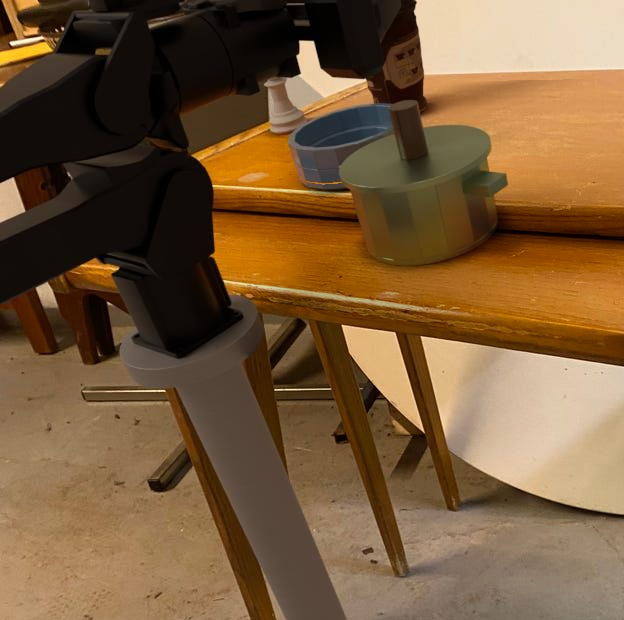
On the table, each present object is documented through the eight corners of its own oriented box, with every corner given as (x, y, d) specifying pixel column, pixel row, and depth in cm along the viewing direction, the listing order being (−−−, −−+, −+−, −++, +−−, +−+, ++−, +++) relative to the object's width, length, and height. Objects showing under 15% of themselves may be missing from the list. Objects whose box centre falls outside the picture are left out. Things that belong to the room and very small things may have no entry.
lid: (424, 209, 69) (409, 142, 66) (312, 192, 76) (292, 130, 73) (523, 144, 76) (513, 79, 73) (411, 133, 83) (397, 74, 80)
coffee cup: (451, 97, 109) (427, -23, 101) (419, 124, 103) (392, -1, 95) (389, 100, 112) (361, -15, 104) (355, 126, 107) (323, 6, 99)
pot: (465, 280, 72) (449, 202, 68) (320, 250, 81) (298, 180, 77) (549, 216, 78) (538, 141, 74) (405, 195, 88) (388, 128, 84)
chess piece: (309, 127, 110) (288, 58, 105) (271, 137, 110) (248, 68, 105) (307, 116, 114) (287, 49, 109) (270, 126, 113) (248, 59, 108)
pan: (360, 199, 89) (347, 154, 86) (278, 186, 96) (264, 144, 93) (440, 149, 96) (431, 106, 93) (358, 141, 103) (347, 100, 100)
